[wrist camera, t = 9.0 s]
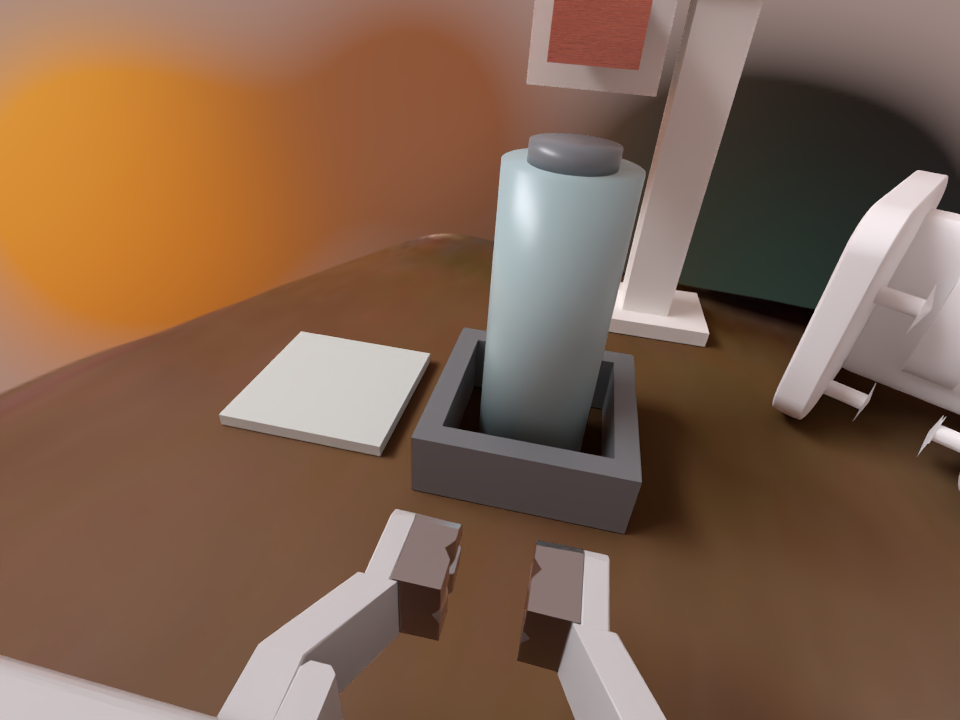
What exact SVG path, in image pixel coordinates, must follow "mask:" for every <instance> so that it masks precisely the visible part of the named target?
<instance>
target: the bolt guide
mask: <svg viewBox="0 0 960 720" xmlns="http://www.w3.org/2000/svg"><path fill="white" fill-rule="evenodd" d="M677 2H678V0H653V2H652V7H651V12H650V17H649V22H648V27H647V32H646V36H645V41H644V46H643V51H642V56H641V61H640V66H639V70H629V69H618V68H607V67H596V66H585V65H574V64H563V63H552V62H547V57H548V48H549V40H550V31H551V23H552V14H553V6H554V0H535V4H534V13H533V24H532V34H531V44H530V54H529V63H528V72H527V73H528V74H527V83H526V84H533V85H544V86H553V87H554V86H555V87H564V88H575V89H584V90H595V91H605V92H615V93H626V94H637V95H646V96H656V94H657V90H658V85H659V81H660V77H661V72H662V68H663V63H664V59H665V55H666V50H667V46H668V41H669V37H670V33H671V28H672V24H673V20H674V15H675V11H676V7H677ZM762 3H763V0H691V2H690V6H689V10H688V14H687V19H686V23H685V27H684V32H683V35H682V40H681V44H680V48H679V52H678V57H677V61H676V65H675V69H674V73H673V78H672V81H671V86H670V90H669V94H668V98H667V102H666V106H665V110H664V115H663V119H662V123H661V127H660V132H659V136H658V140H657V144H656V148H655V152H654V157H653V161H652V165H651V169H650V173H649V177H648V181H647V186H646V190H645V194H644V198H643V203H642V207H641V211H640V215H639V219H638V223H637V227H636V231H635V236H634V240H633V244H632V248H631V252H630V257H629V261H628V265H627V270H626V273H625V277H624V282H620V285H619V289H618V294H617V298H616V302H615V306H614V311H613V315H612V319H611V323H610V327H609V332H614V333H621V334H627V335H633V336H640V337H646V338H652V339H658V340H665V341H671V342H677V343H684V344H690V345H696V346H703V347H705V345H706V342H707V339H708V336H709V331H708V327H707V324H706V321H705V318H704V315H703V311H702V308H701V305H700V302H699V299H698V295H697V293H691V292H684V291H678V290H676V287H677V283H678V280H679V277H680V273H681V270H682V267H683V263H684V260H685V257H686V254H687V250H688V247H689V244H690V240H691V237H692V234H693V231H694V227H695V224H696V221H697V217H698V214H699V210H700V208H701V204H702V201H703V198H704V194H705V191H706V188H707V184H708V181H709V178H710V175H711V171H712V168H713V165H714V161H715V158H716V155H717V152H718V148H719V145H720V142H721V138H722V135H723V132H724V128H725V125H726V122H727V118H728V115H729V112H730V108H731V105H732V102H733V99H734V96H735V92H736V89H737V86H738V82H739V79H740V76H741V72H742V69H743V65H744V62H745V59H746V56H747V52H748V49H749V46H750V43H751V39H752V36H753V33H754V29H755V26H756V23H757V20H758V16H759V13H760V10H761V7H762Z"/></svg>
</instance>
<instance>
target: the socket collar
mask: <svg viewBox="0 0 960 720" xmlns="http://www.w3.org/2000/svg"><path fill="white" fill-rule="evenodd" d="M486 335H487V331H482V330H476V329H470V328H463V330H462V332H461V334H460V336H459V338H458V340H457V343H456V345H455V347H454V349H453V351H452V353H451V355H450V357H449V359H448V361H447V364H446V366H445V368H444V370H443V372H442V374H441V376H440V378H439V380H438V382H437V384H436V387H435V389H434V391H433V393H432V395H431V397H430V399H429V401H428V403H427V405H426V408H425V410H424V412H423V414H422V416H421V418H420V420H419V422H418V424H417V426H416V429H415V431H414V433H413V435H412V437H411V458H412V490H417V491H422V492H427V493H431V494H436V495H441V496H446V497H450V498H455V499H460V500H465V501H469V502H474V503H479V504H484V505H488V506H493V507H498V508H503V509H507V510H512V511H517V512H522V513H527V514H531V515H536V516H541V517H546V518H550V519H555V520H560V521H565V522H569V523H574V524H579V525H584V526H588V527H593V528H598V529H603V530H607V531H612V532H617V533H622V534H625V531H626V528H627V525H628V522H629V519H630V516H631V513H632V510H633V508H634V505H635V502H636V499H637V496H638V493H639V490H640V487H641V484H642V475H641V460H640V445H639V430H638V415H637V400H636V385H635V370H634V356H633V355H628V354H622V353H616V352H610V351H604V353H603V357H602V361H601V366H600V370H599V374H598V378H597V383H596V387H595V391H594V395H593V399H592V404H591V407H595V408H600V409H602V443H601V456H597V455H591V454H586V453H581V452H576V451H571V450H565V449H560V448H555V447H550V446H544V445H539V444H534V443H529V442H524V441H518V440H513V439H508V438H503V437H497V436H492V435H487V434H482V433H476V432H471V431H466V430H461V429H459V426H460V424H461V421H462V418H463V416H464V413H465V410H466V408H467V405H468V402H469V400H470V397H471V394H472V391H473V389H474V386H477V387H482V383H483V371H484V359H485V347H486Z"/></svg>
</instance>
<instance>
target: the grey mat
mask: <svg viewBox="0 0 960 720" xmlns="http://www.w3.org/2000/svg"><path fill="white" fill-rule="evenodd" d="M429 363H430V354H429V353H423V352H418V351H412V350H406V349H400V348H394V347H389V346H383V345H377V344H371V343H365V342H360V341H354V340H348V339H342V338H336V337H331V336H325V335H319V334H313V333H307V332H302V331H301V332H300V333H299V334H298V335H297V336H296V337H295V338H294V339H293V340H292V341H291V342H290V343H289V344H288V345H287V346H286V347H285V348H284V349H283V350H282V351H281V352H280V353H279V354H278V355H277V356H276V357H275V358H274V359H273V360H272V361H271V362H270V363H269V364H268V365H267V366H266V367H265V368H264V370H263V371H262V372H261V373H260V374H259V375H258V376H257V377H256V378H255V379H254V380H253V381H252V382H251V383H250V384H249V385H248V386H247V387H246V388H245V389H244V390H243V391H242V392H241V393H240V394H239V395H238V396H237V397H236V398H235V399H234V400H233V401H232V402H231V403H230V404H229V405H228V406H227V407H226V408H225V409H224V410H223V411H222V412H221V413H220V414H219V417H220V421H221V424H223V425H228V426H233V427H238V428H243V429H248V430H252V431H257V432H262V433H267V434H272V435H277V436H282V437H287V438H292V439H297V440H302V441H307V442H312V443H317V444H321V445H326V446H331V447H336V448H341V449H346V450H351V451H356V452H361V453H366V454H371V455H376V456H381V454H382V452H383V450H384V448H385V447H386V445H387V443H388V441H389V439H390V437H391V435H392V433H393V431H394V429H395V428H396V426H397V424H398V422H399V420H400V418H401V416H402V414H403V412H404V410H405V409H406V407H407V405H408V403H409V401H410V399H411V397H412V395H413V393H414V391H415V390H416V388H417V386H418V384H419V382H420V380H421V378H422V376H423V374H424V373H425V371H426V369H427V367H428V365H429Z"/></svg>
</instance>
